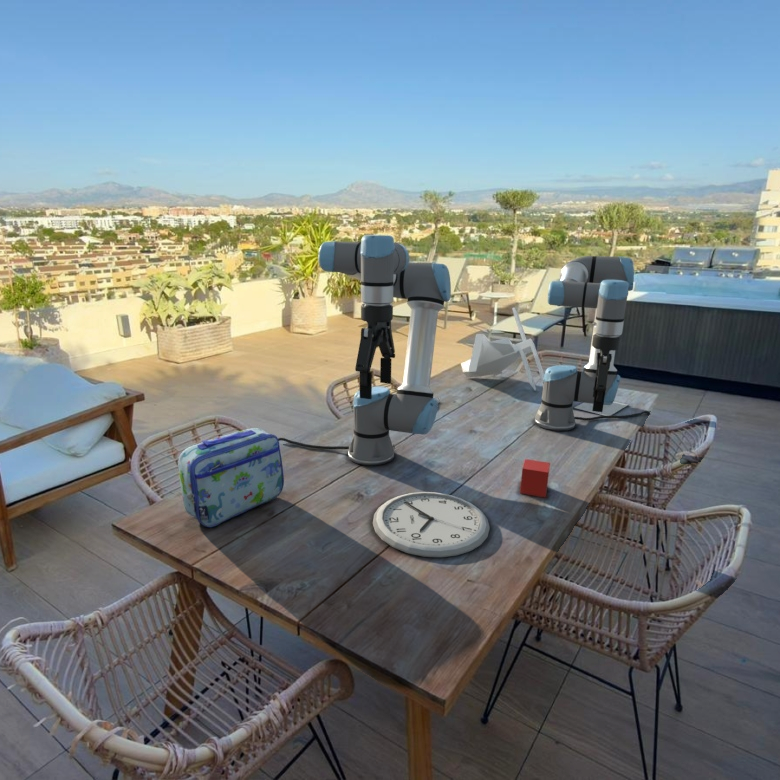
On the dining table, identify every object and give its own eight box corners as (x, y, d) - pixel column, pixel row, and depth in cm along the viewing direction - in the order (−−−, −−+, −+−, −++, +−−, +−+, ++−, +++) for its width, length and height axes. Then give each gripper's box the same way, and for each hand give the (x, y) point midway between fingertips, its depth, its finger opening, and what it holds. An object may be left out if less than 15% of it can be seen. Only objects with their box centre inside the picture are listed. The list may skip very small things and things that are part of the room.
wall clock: (504, 548, 122) (376, 553, 119) (504, 554, 122) (376, 559, 120) (474, 487, 150) (370, 490, 148) (473, 492, 151) (370, 495, 148)
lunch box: (198, 536, 127) (190, 457, 121) (179, 518, 135) (170, 443, 128) (288, 499, 145) (285, 429, 139) (267, 486, 152) (263, 418, 146)
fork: (425, 410, 217) (425, 406, 216) (435, 399, 231) (435, 395, 231) (431, 411, 216) (431, 407, 215) (441, 400, 230) (441, 396, 230)
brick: (522, 482, 157) (524, 458, 155) (547, 486, 155) (550, 462, 153) (519, 493, 151) (522, 468, 149) (545, 497, 149) (548, 472, 147)
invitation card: (608, 416, 214) (573, 407, 224) (608, 416, 214) (573, 408, 224) (628, 404, 229) (594, 396, 238) (628, 405, 229) (594, 397, 238)
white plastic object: (482, 419, 265) (461, 396, 241) (463, 346, 287) (443, 319, 263) (553, 395, 253) (539, 368, 228) (528, 321, 275) (513, 290, 250)
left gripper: (380, 296, 135) (379, 375, 141) (339, 309, 112) (340, 403, 118) (408, 298, 132) (406, 378, 139) (372, 312, 110) (371, 407, 116)
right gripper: (593, 325, 163) (585, 390, 170) (593, 342, 141) (583, 416, 148) (619, 327, 161) (609, 393, 167) (623, 345, 139) (611, 419, 145)
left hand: (376, 390), depth 129 cm, fingers open, 13 cm apart
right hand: (597, 404), depth 158 cm, fingers open, 13 cm apart
